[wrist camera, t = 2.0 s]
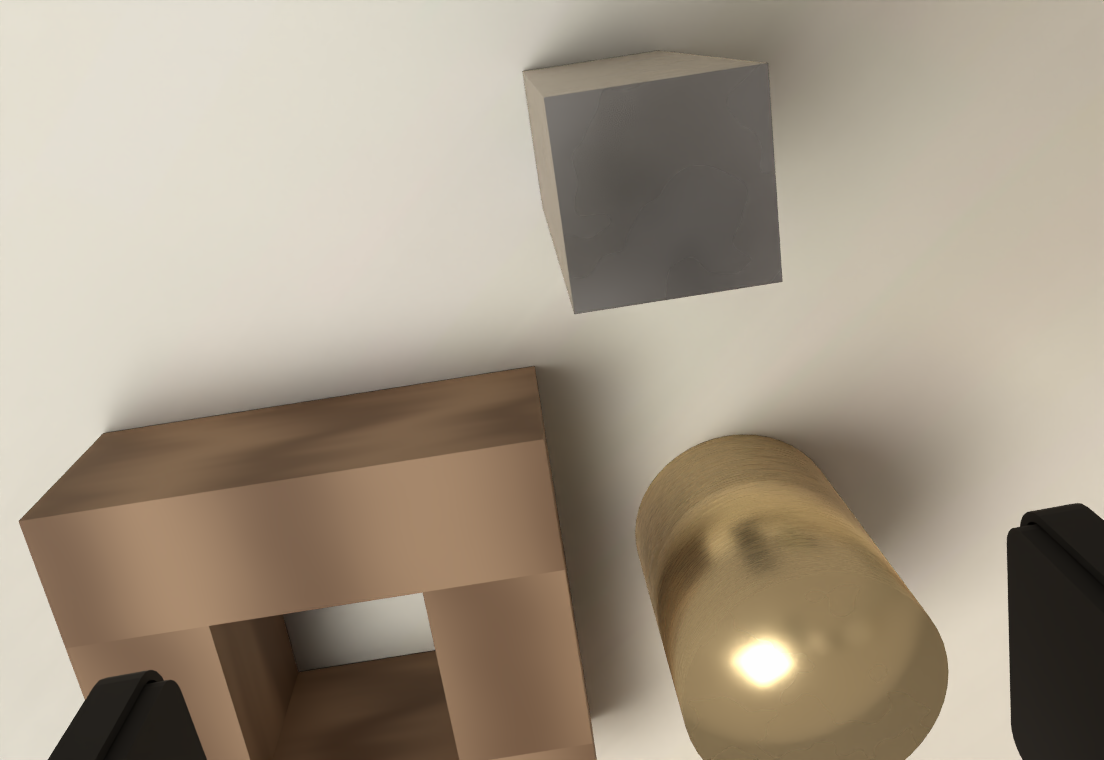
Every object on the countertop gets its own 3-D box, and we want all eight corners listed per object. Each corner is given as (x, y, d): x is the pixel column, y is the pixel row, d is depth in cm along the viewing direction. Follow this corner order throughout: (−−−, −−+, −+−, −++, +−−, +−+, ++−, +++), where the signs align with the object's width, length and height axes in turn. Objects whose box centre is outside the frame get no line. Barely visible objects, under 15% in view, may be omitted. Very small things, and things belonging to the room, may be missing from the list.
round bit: (830, 420, 33) (947, 555, 24) (839, 598, 35) (949, 778, 27) (624, 452, 33) (668, 598, 24) (647, 628, 35) (695, 817, 27)
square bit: (658, 50, 29) (768, 63, 17) (672, 187, 30) (781, 281, 19) (522, 71, 29) (543, 97, 17) (542, 207, 30) (574, 314, 19)
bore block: (534, 366, 32) (544, 439, 26) (590, 719, 36) (609, 846, 31) (103, 433, 32) (18, 521, 26) (216, 779, 36) (165, 917, 31)
